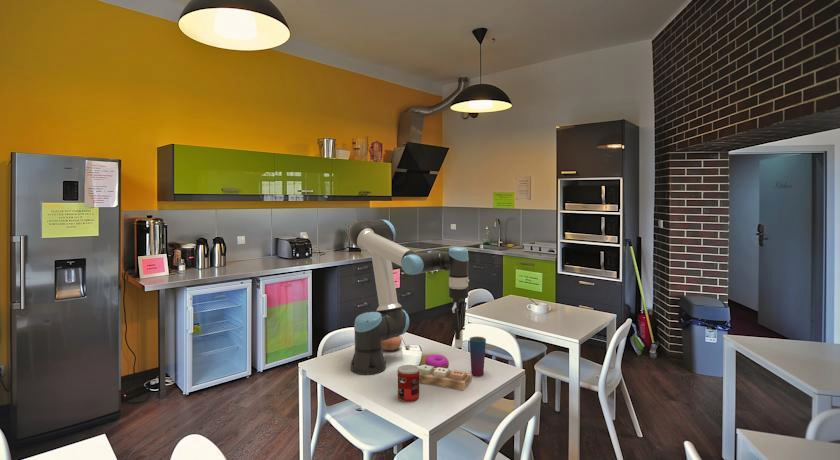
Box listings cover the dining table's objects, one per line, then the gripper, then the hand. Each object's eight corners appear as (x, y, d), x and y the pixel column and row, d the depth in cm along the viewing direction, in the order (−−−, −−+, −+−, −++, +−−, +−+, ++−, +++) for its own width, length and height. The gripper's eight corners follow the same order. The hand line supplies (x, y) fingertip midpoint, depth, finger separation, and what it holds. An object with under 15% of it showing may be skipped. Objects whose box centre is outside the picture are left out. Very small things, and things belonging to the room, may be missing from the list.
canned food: (397, 393, 168) (397, 364, 168) (418, 392, 169) (418, 364, 168) (398, 402, 161) (397, 372, 160) (420, 401, 161) (420, 371, 161)
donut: (436, 373, 189) (436, 362, 189) (420, 366, 196) (420, 356, 196) (453, 367, 196) (453, 356, 195) (436, 360, 203) (436, 351, 203)
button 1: (417, 373, 181) (417, 368, 181) (422, 369, 186) (422, 364, 186) (428, 375, 179) (428, 370, 179) (433, 371, 184) (433, 365, 184)
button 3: (449, 379, 176) (449, 373, 176) (454, 374, 180) (454, 369, 180) (462, 381, 174) (462, 375, 173) (466, 376, 178) (466, 371, 178)
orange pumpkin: (401, 352, 213) (401, 336, 213) (378, 353, 213) (378, 336, 213) (401, 345, 224) (401, 329, 224) (380, 345, 224) (380, 330, 223)
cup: (485, 377, 183) (485, 341, 182) (468, 376, 185) (468, 340, 184) (486, 371, 190) (486, 336, 189) (470, 370, 191) (470, 336, 190)
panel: (411, 381, 180) (411, 373, 180) (421, 372, 189) (421, 365, 189) (463, 390, 171) (463, 382, 171) (471, 381, 180) (471, 373, 180)
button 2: (433, 376, 179) (433, 370, 178) (438, 372, 183) (438, 366, 183) (445, 378, 176) (445, 372, 176) (449, 374, 181) (449, 368, 181)
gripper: (462, 291, 167) (462, 353, 168) (472, 285, 179) (472, 343, 180) (443, 289, 170) (443, 350, 172) (455, 283, 182) (455, 340, 183)
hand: (458, 346), depth 176 cm, fingers closed
